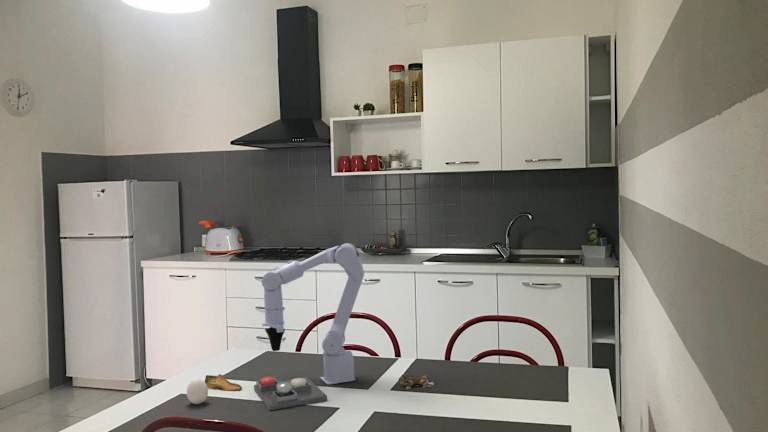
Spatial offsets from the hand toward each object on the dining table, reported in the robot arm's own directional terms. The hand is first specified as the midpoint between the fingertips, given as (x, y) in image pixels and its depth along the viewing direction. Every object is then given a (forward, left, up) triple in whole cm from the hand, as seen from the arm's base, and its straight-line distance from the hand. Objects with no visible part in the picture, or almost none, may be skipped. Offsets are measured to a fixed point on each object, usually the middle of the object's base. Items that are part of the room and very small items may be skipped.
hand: (275, 350), depth 210 cm
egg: (+26, +9, -10) cm, 30 cm away
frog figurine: (-37, +25, -11) cm, 46 cm away
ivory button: (-3, +15, -9) cm, 18 cm away
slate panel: (0, +15, -10) cm, 18 cm away
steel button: (+3, +22, -7) cm, 23 cm away
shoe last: (+17, -2, -11) cm, 20 cm away
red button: (+5, +9, -9) cm, 13 cm away
